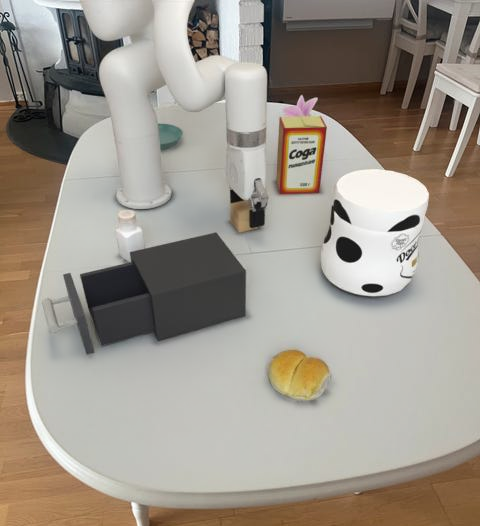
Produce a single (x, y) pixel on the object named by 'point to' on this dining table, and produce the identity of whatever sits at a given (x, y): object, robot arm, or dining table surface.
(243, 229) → the block
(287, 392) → the bread roll
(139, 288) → the drawer
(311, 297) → the dining table surface
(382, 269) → the milk container
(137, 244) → the salt shaker
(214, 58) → the robot arm
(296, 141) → the baking soda box
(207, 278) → the cabinet
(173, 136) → the saucer
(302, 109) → the lily
